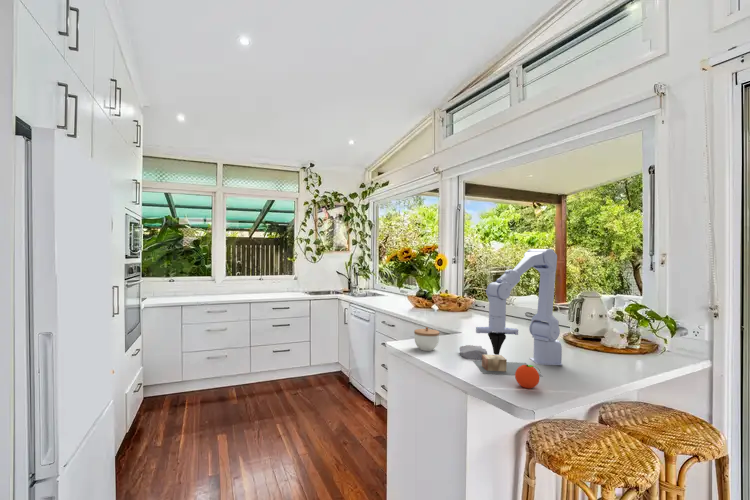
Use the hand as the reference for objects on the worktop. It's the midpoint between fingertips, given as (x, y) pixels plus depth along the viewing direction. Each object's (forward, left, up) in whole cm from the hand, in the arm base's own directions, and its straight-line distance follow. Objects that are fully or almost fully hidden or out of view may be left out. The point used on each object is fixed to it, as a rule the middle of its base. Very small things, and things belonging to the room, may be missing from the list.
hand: (496, 354), depth 131 cm
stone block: (+5, -17, -6) cm, 19 cm away
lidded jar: (+22, -25, -6) cm, 34 cm away
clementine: (-5, +18, -6) cm, 19 cm away
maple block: (-3, 0, -3) cm, 4 cm away
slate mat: (-4, -1, -5) cm, 7 cm away
